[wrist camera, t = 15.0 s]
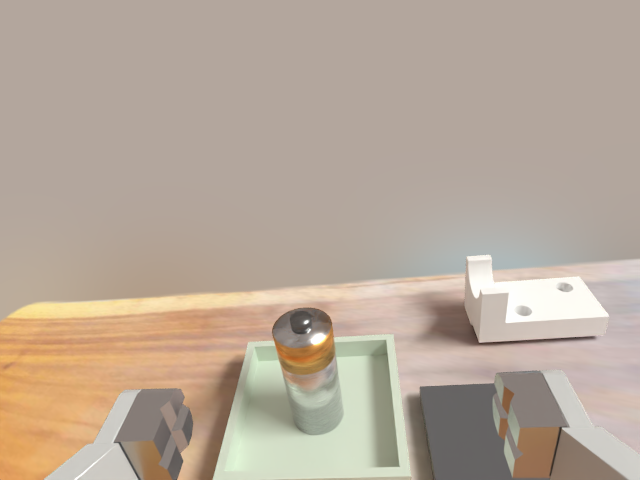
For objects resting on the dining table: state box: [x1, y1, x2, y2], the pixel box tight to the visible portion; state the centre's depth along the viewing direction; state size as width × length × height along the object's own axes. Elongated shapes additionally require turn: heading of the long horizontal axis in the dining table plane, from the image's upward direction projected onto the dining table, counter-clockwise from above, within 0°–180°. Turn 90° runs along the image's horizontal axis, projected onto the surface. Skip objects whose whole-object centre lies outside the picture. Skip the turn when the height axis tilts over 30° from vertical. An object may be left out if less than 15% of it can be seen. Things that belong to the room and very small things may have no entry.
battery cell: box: [272, 308, 344, 435], centre depth 41 cm, size 5×5×12 cm
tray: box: [213, 334, 411, 480], centre depth 44 cm, size 16×16×3 cm
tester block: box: [420, 383, 550, 480], centre depth 40 cm, size 10×10×3 cm
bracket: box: [464, 255, 610, 343], centre depth 51 cm, size 13×7×8 cm, turn 87°
